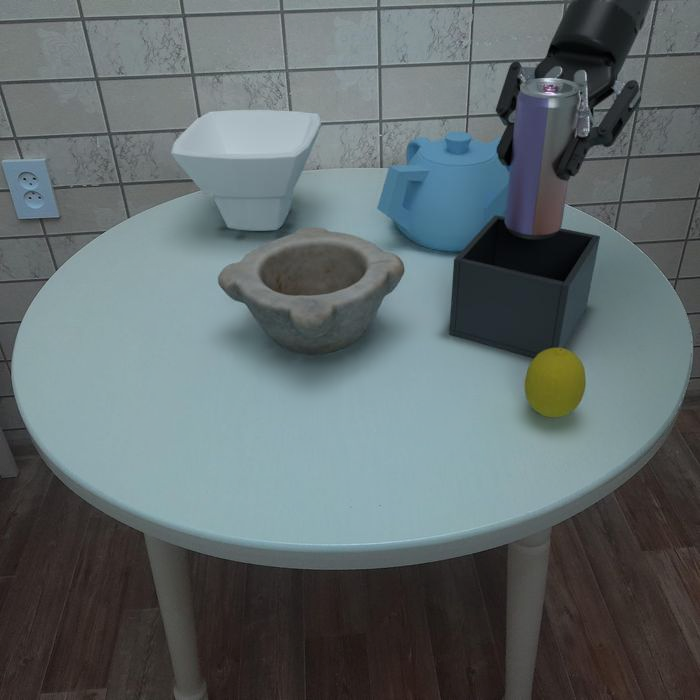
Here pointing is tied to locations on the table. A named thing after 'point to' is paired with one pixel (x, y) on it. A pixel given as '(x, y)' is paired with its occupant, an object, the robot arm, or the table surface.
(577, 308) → the open box
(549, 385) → the lemon
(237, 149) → the bowl
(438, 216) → the teapot
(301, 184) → the table surface
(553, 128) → the beverage can
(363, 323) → the mortar
